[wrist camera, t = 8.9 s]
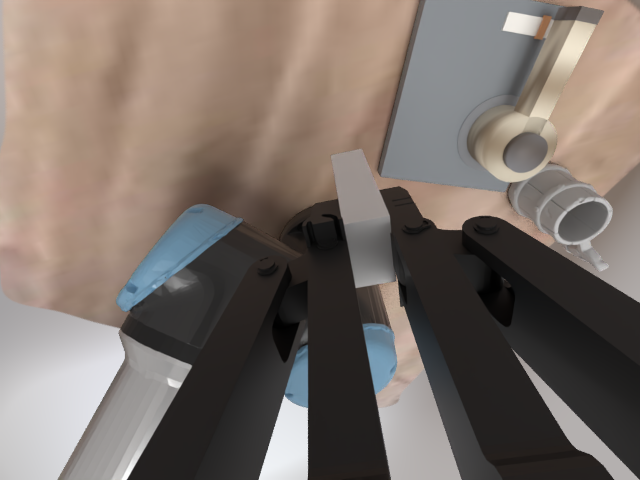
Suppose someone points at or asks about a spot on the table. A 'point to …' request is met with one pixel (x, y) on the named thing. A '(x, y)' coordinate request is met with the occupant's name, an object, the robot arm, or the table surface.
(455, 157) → the grey base plate
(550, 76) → the lever
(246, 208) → the table surface
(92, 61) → the table surface
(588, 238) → the mug
